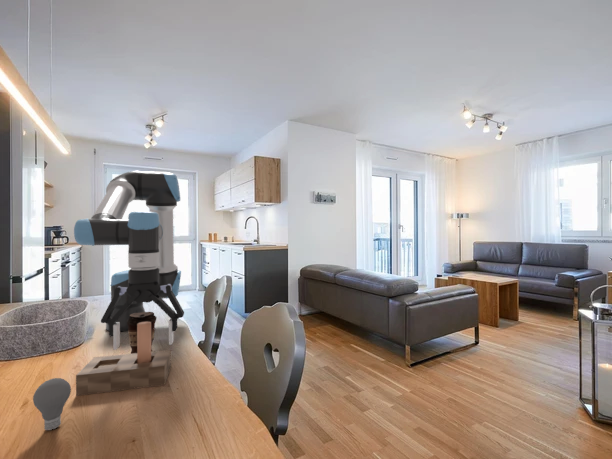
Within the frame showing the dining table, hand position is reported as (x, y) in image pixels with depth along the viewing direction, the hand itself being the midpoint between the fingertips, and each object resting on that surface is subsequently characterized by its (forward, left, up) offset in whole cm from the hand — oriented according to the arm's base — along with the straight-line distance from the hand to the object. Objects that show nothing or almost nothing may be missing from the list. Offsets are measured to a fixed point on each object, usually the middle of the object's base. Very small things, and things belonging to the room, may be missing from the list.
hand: (144, 345), depth 85 cm
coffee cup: (-18, -5, -9) cm, 21 cm away
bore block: (0, -4, -9) cm, 10 cm away
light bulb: (+19, -13, -9) cm, 25 cm away
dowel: (0, 0, -8) cm, 8 cm away
